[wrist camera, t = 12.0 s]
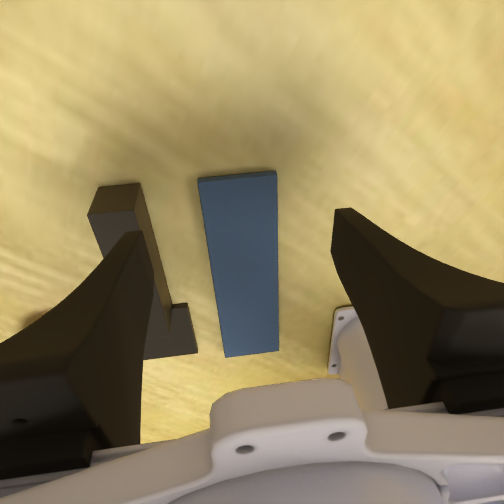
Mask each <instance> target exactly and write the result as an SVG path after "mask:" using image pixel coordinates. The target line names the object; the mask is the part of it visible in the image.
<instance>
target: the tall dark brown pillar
mask: <svg viewBox="0 0 504 504" xmlns="http://www.w3.org/2000/svg"><path fill="white" fill-rule="evenodd" d="M87 216H88V219H89V222H90V224H91V227H92V229H93V232H94V235H95V237H96V240H97V242H98V245H99V247H100V250H101V253H102V255H103V258H105V257H106V255H107V254H108V253H109V252H110V250H111V249H112V248H113V247H114V245H115V244H116V243H117V242H118V240H119V239H120V238H121V237H122V235H123V234H124V233H125V232H128V231H137V230H142V231H143V234H144V238H145V241H146V245H147V248H148V252H149V255H150V259H151V262H152V266H153V269H154V295H153V301H152V307H151V313H150V319H149V324H148V330H147V336H146V341H145V348H144V355H143V360H148V359H156V358H164V357H172V356H179V355H187V354H195V353H198V347H197V343H196V339H195V334H194V330H193V325H192V321H191V317H190V312H189V308H188V304H187V303H185V304H177V305H172V301H171V297H170V294H169V290H168V286H167V282H166V279H165V275H164V271H163V267H162V263H161V260H160V256H159V252H158V248H157V244H156V241H155V237H154V233H153V229H152V226H151V222H150V218H149V214H148V210H147V207H146V203H145V199H144V195H143V192H142V188H141V184H140V183H137V184H127V185H117V186H107V187H99V188H98V190H97V192H96V194H95V197H94V199H93V202H92V204H91V206H90V209H89V211H88V214H87Z"/></svg>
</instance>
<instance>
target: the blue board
mask: <svg viewBox="0 0 504 504" xmlns="http://www.w3.org/2000/svg"><path fill="white" fill-rule="evenodd" d="M198 189H199V195H200V201H201V208H202V214H203V220H204V227H205V233H206V239H207V246H208V252H209V258H210V265H211V271H212V277H213V284H214V290H215V296H216V303H217V309H218V315H219V322H220V328H221V334H222V341H223V347H224V353H225V358H228V357H236V356H243V355H251V354H259V353H266V352H274V351H279V301H278V204H277V173H276V171H267V172H257V173H247V174H237V175H227V176H217V177H207V178H198Z"/></svg>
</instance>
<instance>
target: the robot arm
mask: <svg viewBox="0 0 504 504" xmlns="http://www.w3.org/2000/svg"><path fill="white" fill-rule="evenodd" d="M331 255H332V258H333V261H334V265H335V268H336V271H337V274H338V276H339V278H340V280H341V282H342V284H343V286H344V289H345V291H346V293H347V295H348V297H349V299H350V301H351V303H352V305H353V306H351V307H343V308H338V309H337V310H336V311H335V314H334V322H333V330H332V338H331V346H330V354H329V362H328V373H329V374H338V373H339V376H340V379H341V380H340V379H338V378H317V379H309V380H302V381H294V382H287V383H280V384H272V385H265V386H257V387H250V388H242V389H239V390H235V391H232V392H228V393H226V394H224V395H223V396H222V397H220V398H219V399H218V400H216V401H215V402H214V403H213V404H212V407H211V411H210V428H209V429H206V430H203V431H200V432H197V433H194V434H191V435H188V436H185V437H182V438H179V439H174V440H167V441H160V442H153V443H145V444H140V423H141V391H142V371H143V355H144V348H145V341H146V336H147V330H148V324H149V319H150V313H151V307H152V301H153V295H154V269H153V266H152V262H151V259H150V255H149V252H148V248H147V245H146V241H145V238H144V234H143V231H142V230H137V231H128V232H125V233H124V234H123V235H122V237H121V238H120V239H119V240H118V242H117V243H116V244H115V245H114V247H113V248H112V249H111V250H110V252H109V253H108V254H107V255H106V257H105V258H104V259H103V260H102V261H101V263H100V264H99V265H98V266H97V267H96V268H95V269H94V270H93V272H92V273H91V274H90V275H89V276H88V277H87V278H86V279H85V280H84V281H83V282H82V283H81V284H80V285H79V286H78V287H77V288H76V289H75V290H74V291H73V292H72V293H71V294H70V295H68V296H67V297H66V298H65V299H64V300H63V301H61V302H60V303H59V304H58V305H57V306H55V307H54V308H53V309H51V310H50V311H49V312H47V313H46V314H45V315H43V316H42V317H41V318H39V319H38V320H37V321H35V322H34V323H32V324H31V325H29V326H28V327H26V328H25V329H23V330H22V331H20V332H18V333H17V334H15V335H14V336H12V337H10V338H9V339H7V340H5V341H4V342H2V343H0V504H504V283H501V282H497V281H493V280H490V279H487V278H484V277H480V276H477V275H474V274H471V273H468V272H465V271H462V270H460V269H457V268H455V267H452V266H450V265H447V264H445V263H442V262H440V261H438V260H435V259H433V258H431V257H429V256H427V255H425V254H423V253H421V252H419V251H417V250H415V249H413V248H412V247H410V246H408V245H406V244H405V243H403V242H401V241H400V240H398V239H396V238H395V237H393V236H392V235H390V234H389V233H387V232H386V231H384V230H383V229H381V228H380V227H378V226H377V225H375V224H374V223H373V222H371V221H370V220H368V219H367V218H366V217H364V216H363V215H361V214H360V213H358V212H357V211H356V210H354V209H352V208H351V207H350V208H341V209H335V214H334V224H333V234H332V243H331Z"/></svg>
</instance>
